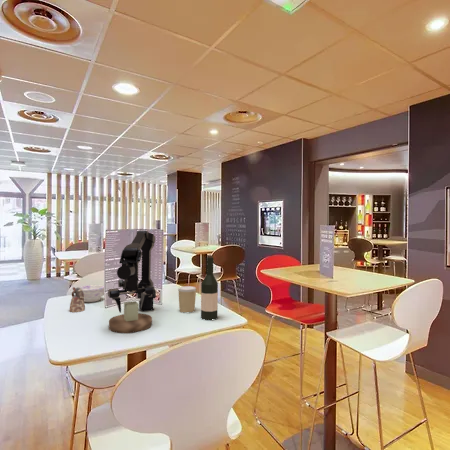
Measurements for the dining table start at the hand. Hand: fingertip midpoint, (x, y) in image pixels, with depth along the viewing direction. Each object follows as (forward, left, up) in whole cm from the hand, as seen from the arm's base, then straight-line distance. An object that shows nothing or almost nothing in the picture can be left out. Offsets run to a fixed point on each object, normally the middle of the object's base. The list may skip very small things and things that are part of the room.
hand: (131, 311), depth 133 cm
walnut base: (0, 0, -6) cm, 6 cm away
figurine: (+19, -37, -7) cm, 42 cm away
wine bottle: (-36, +5, -7) cm, 37 cm away
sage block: (0, 0, -4) cm, 4 cm away
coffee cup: (-31, -11, -7) cm, 34 cm away
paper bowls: (+11, -56, -7) cm, 57 cm away
